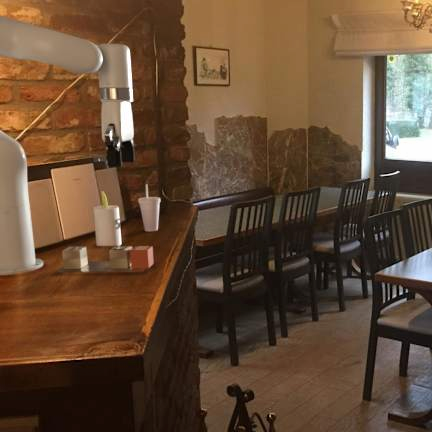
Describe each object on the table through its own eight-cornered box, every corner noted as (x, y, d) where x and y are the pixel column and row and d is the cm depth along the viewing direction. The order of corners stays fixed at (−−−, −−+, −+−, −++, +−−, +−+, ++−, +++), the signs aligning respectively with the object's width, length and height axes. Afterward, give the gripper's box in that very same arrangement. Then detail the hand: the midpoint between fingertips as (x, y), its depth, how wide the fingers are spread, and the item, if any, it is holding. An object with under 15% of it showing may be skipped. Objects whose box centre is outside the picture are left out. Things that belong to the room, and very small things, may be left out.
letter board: (55, 274, 145) (55, 272, 145) (72, 263, 153) (71, 261, 153) (142, 273, 146) (142, 271, 146) (153, 263, 155) (153, 260, 155)
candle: (113, 248, 168) (109, 193, 165) (91, 247, 169) (86, 192, 166) (126, 242, 174) (122, 189, 171) (105, 241, 175) (100, 188, 172)
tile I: (63, 269, 147) (61, 250, 146) (70, 264, 151) (69, 246, 150) (81, 268, 147) (79, 250, 146) (87, 264, 151) (86, 246, 150)
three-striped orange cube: (131, 268, 148) (130, 250, 147) (136, 263, 152) (135, 245, 151) (148, 268, 148) (147, 249, 147) (153, 263, 152) (152, 245, 151)
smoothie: (140, 228, 192) (137, 183, 189) (162, 227, 194) (160, 182, 191) (139, 233, 186) (136, 186, 183) (162, 231, 188) (159, 185, 185)
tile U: (110, 268, 148) (109, 250, 147) (116, 263, 152) (115, 245, 151) (127, 268, 148) (126, 250, 147) (133, 263, 152) (132, 245, 151)
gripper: (113, 94, 163) (118, 160, 167) (87, 96, 147) (93, 168, 150) (143, 95, 164) (147, 160, 167) (120, 96, 147) (125, 168, 150)
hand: (121, 164), depth 159 cm, fingers open, 9 cm apart
